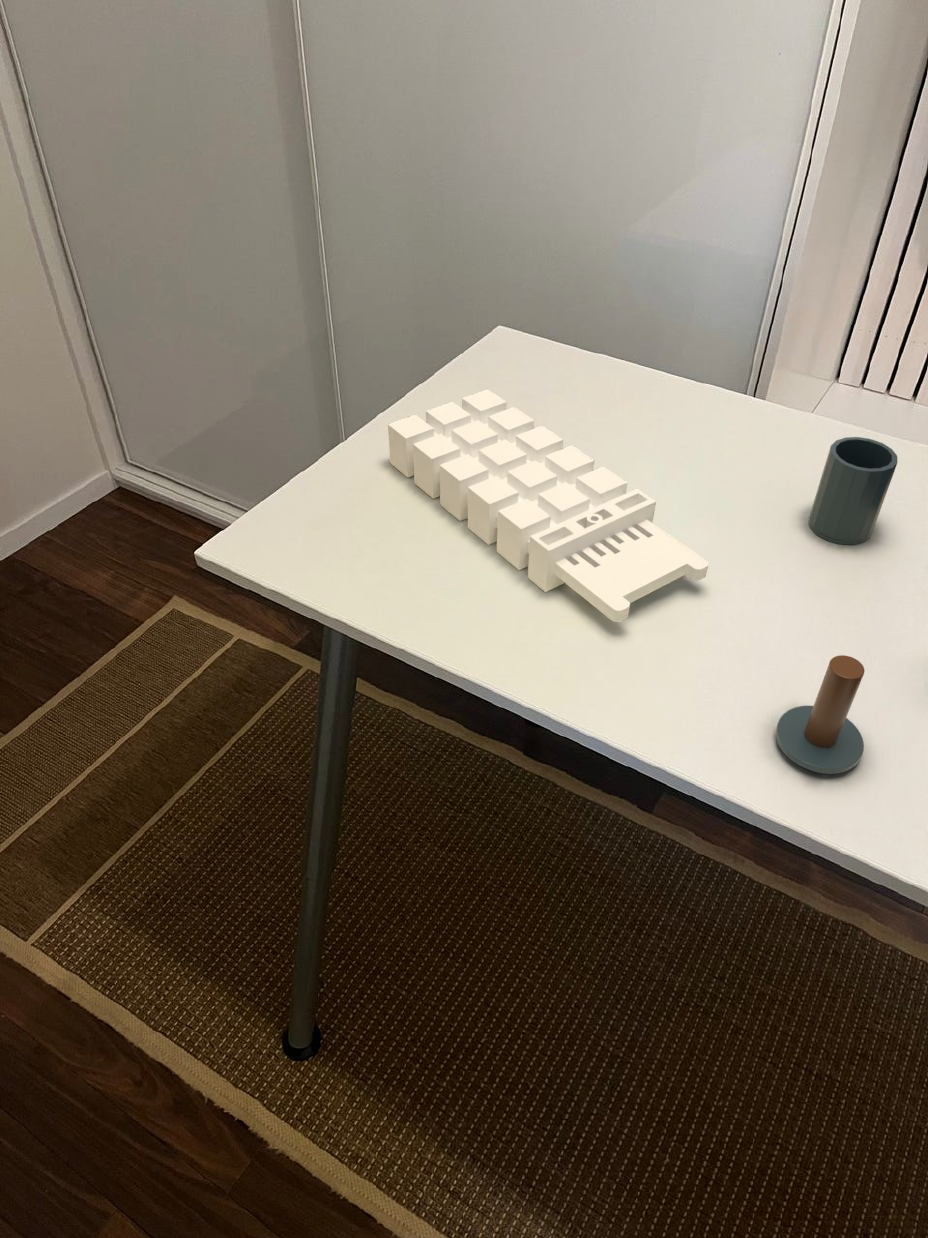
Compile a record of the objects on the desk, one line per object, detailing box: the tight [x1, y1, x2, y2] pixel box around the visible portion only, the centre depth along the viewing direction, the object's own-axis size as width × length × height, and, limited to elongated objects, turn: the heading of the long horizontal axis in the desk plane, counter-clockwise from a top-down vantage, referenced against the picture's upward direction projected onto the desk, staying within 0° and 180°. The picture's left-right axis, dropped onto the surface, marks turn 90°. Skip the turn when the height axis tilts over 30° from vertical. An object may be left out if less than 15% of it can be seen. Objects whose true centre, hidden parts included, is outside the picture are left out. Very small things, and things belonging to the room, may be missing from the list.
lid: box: [775, 654, 865, 775], centre depth 70 cm, size 6×6×9 cm
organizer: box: [387, 389, 710, 623], centre depth 93 cm, size 13×5×35 cm
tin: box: [808, 436, 899, 546], centre depth 91 cm, size 6×6×8 cm
